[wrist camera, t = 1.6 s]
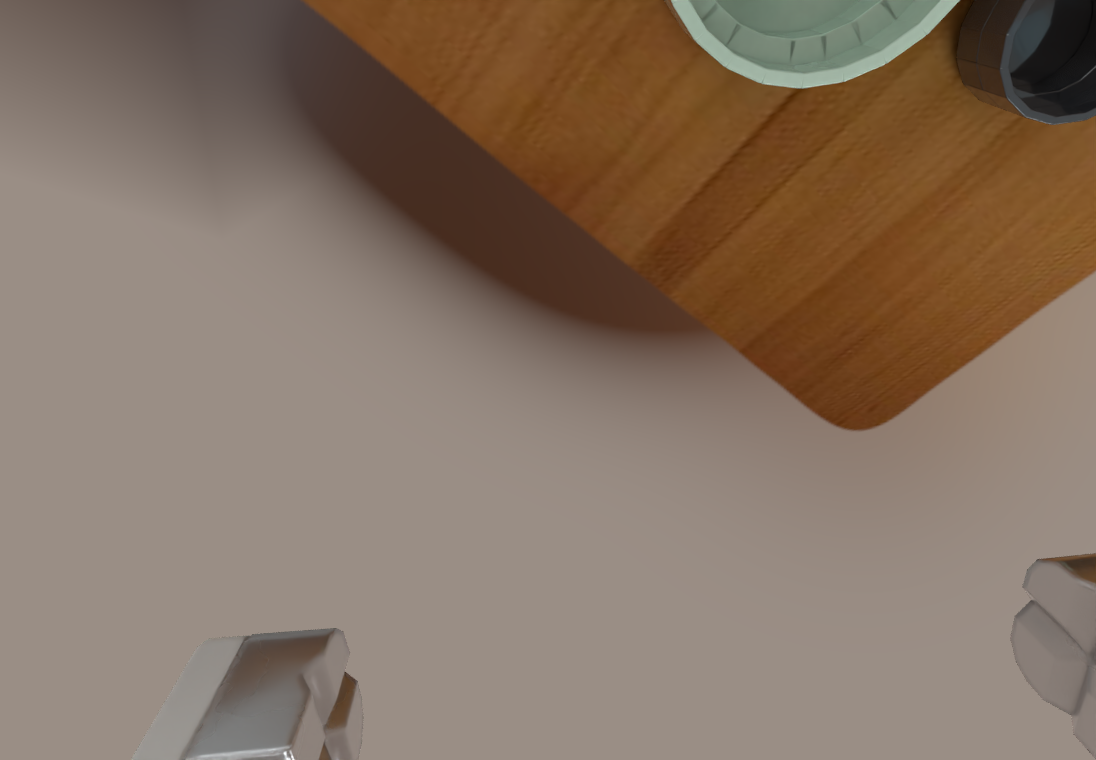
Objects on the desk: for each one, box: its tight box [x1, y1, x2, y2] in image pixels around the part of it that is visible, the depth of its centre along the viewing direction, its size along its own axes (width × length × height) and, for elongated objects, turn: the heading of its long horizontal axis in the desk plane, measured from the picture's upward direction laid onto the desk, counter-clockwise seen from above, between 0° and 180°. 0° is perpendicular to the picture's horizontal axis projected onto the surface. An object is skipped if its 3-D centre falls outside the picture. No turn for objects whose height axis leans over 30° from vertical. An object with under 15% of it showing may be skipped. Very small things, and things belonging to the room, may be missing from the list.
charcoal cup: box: [956, 0, 1096, 125], centre depth 28 cm, size 6×6×5 cm
